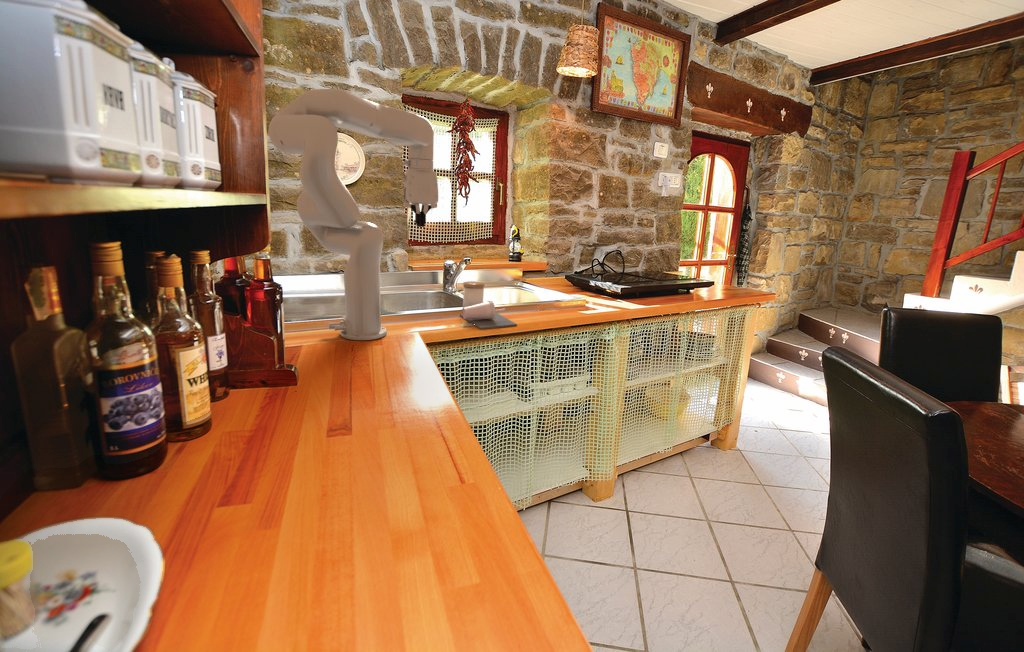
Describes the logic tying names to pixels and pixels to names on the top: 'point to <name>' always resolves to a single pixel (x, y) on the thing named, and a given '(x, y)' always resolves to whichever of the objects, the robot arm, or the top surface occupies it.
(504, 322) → the mat
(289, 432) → the top surface
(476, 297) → the canister
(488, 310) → the smoothie
